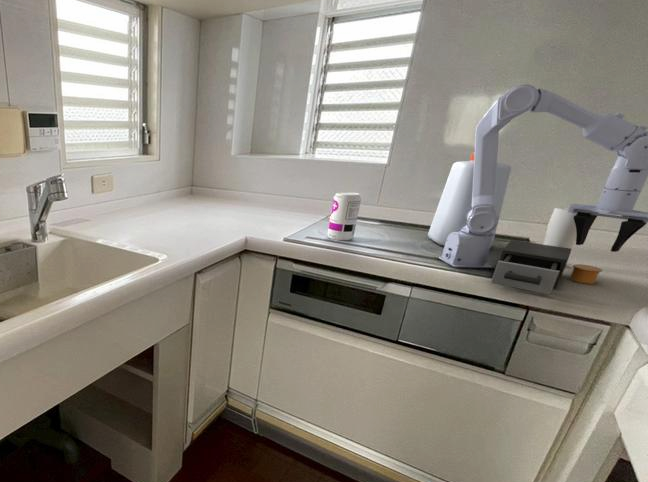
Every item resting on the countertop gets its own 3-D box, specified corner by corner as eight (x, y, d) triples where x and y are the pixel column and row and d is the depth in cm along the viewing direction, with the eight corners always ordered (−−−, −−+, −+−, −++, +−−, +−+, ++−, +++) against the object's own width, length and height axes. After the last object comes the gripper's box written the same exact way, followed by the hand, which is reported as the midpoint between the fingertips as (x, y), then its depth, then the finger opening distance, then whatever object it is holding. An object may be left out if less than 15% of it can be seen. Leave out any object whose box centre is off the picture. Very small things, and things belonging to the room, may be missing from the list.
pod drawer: (548, 300, 86) (557, 276, 84) (487, 287, 93) (494, 265, 91) (555, 281, 96) (563, 259, 94) (500, 270, 103) (507, 250, 101)
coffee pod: (579, 283, 97) (585, 270, 96) (562, 276, 102) (567, 263, 100) (602, 284, 97) (608, 271, 95) (584, 277, 101) (589, 264, 100)
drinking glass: (533, 258, 116) (553, 205, 110) (565, 262, 112) (588, 208, 106) (534, 263, 111) (555, 209, 105) (568, 268, 107) (592, 212, 101)
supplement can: (327, 239, 136) (335, 194, 130) (326, 234, 143) (333, 191, 137) (354, 241, 133) (363, 195, 128) (351, 236, 140) (360, 192, 135)
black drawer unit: (555, 289, 94) (567, 260, 91) (493, 276, 102) (502, 249, 99) (560, 275, 103) (571, 248, 100) (502, 265, 110) (511, 239, 108)
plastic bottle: (473, 238, 136) (500, 151, 126) (496, 250, 123) (529, 154, 112) (423, 236, 140) (445, 151, 129) (440, 247, 126) (467, 153, 116)
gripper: (571, 186, 95) (549, 242, 100) (662, 195, 83) (632, 258, 88) (586, 184, 98) (564, 239, 103) (676, 192, 86) (646, 254, 91)
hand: (596, 247), depth 96 cm, fingers open, 6 cm apart
